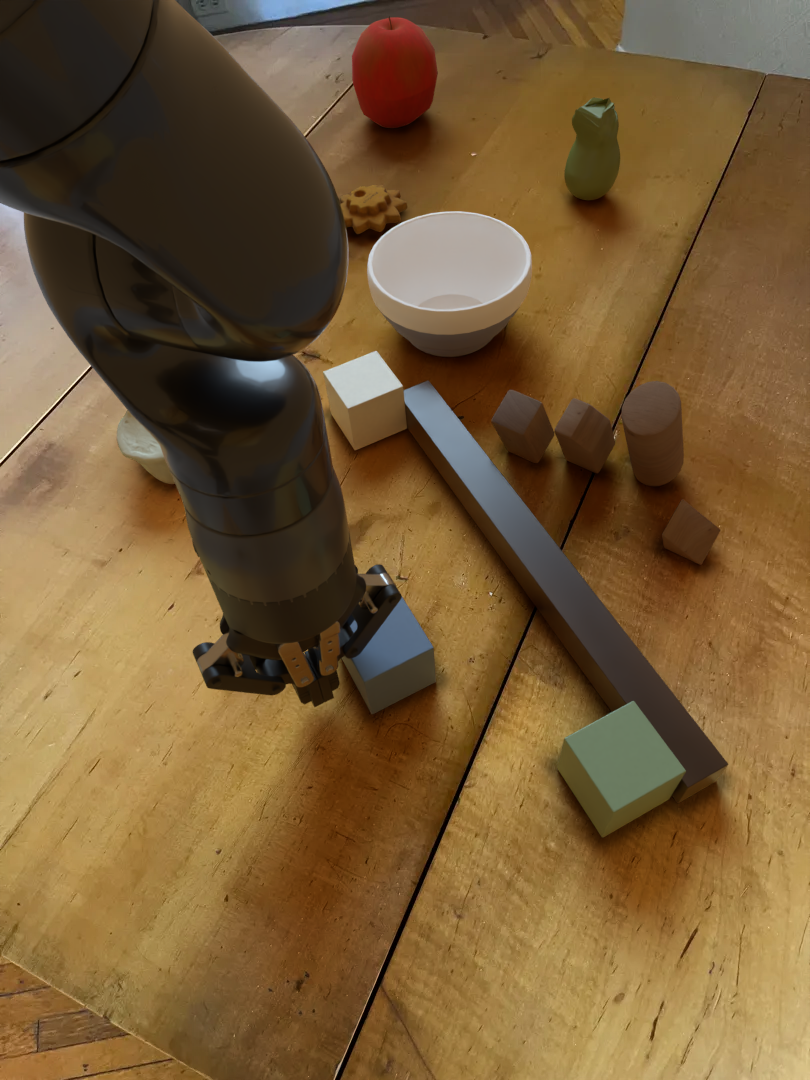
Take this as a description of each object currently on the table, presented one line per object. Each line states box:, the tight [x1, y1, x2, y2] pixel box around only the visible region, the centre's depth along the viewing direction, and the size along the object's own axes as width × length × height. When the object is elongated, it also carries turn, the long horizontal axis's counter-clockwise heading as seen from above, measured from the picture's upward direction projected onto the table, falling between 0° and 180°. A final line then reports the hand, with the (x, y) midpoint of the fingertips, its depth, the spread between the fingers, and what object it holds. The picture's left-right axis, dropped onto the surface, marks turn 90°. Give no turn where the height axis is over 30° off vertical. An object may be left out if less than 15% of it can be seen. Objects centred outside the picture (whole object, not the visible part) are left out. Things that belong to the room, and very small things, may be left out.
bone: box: [116, 409, 175, 485], centre depth 69 cm, size 13×15×8 cm
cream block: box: [322, 350, 408, 451], centre depth 69 cm, size 5×5×5 cm
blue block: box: [341, 596, 437, 715], centre depth 55 cm, size 5×5×5 cm
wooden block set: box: [490, 380, 721, 566], centre depth 61 cm, size 18×9×10 cm, turn 53°
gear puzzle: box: [339, 184, 408, 235], centre depth 86 cm, size 31×16×4 cm, turn 96°
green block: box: [556, 701, 686, 838], centre depth 49 cm, size 5×5×5 cm
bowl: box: [366, 210, 533, 358], centre depth 74 cm, size 14×14×8 cm
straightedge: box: [404, 379, 729, 804], centre depth 60 cm, size 3×38×3 cm, turn 27°
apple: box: [351, 15, 439, 129], centre depth 95 cm, size 10×10×12 cm
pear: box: [563, 96, 621, 201], centre depth 84 cm, size 6×5×10 cm
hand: (318, 691), depth 55 cm, fingers closed
